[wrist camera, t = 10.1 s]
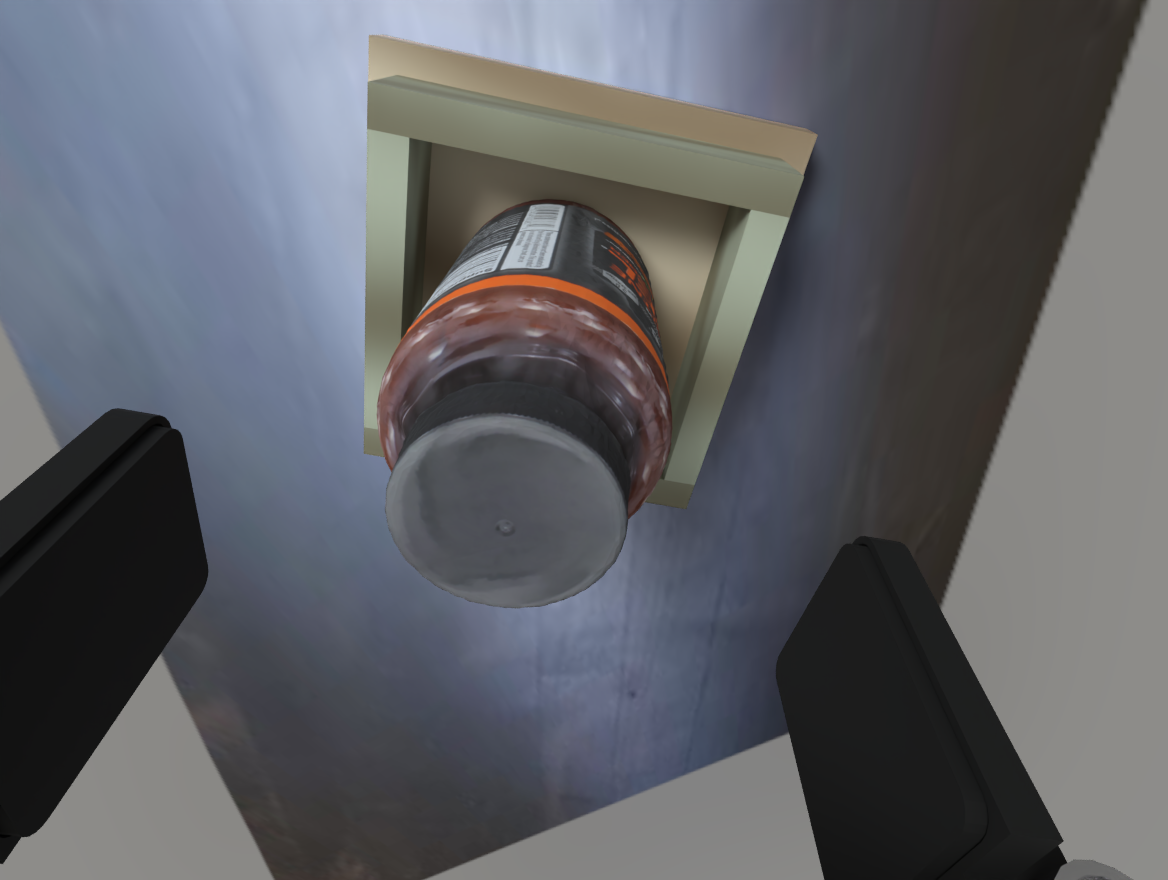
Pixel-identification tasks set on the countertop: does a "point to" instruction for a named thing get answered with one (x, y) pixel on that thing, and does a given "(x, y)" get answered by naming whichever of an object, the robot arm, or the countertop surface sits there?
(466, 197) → the socket board
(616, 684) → the countertop surface
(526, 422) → the supplement bottle
